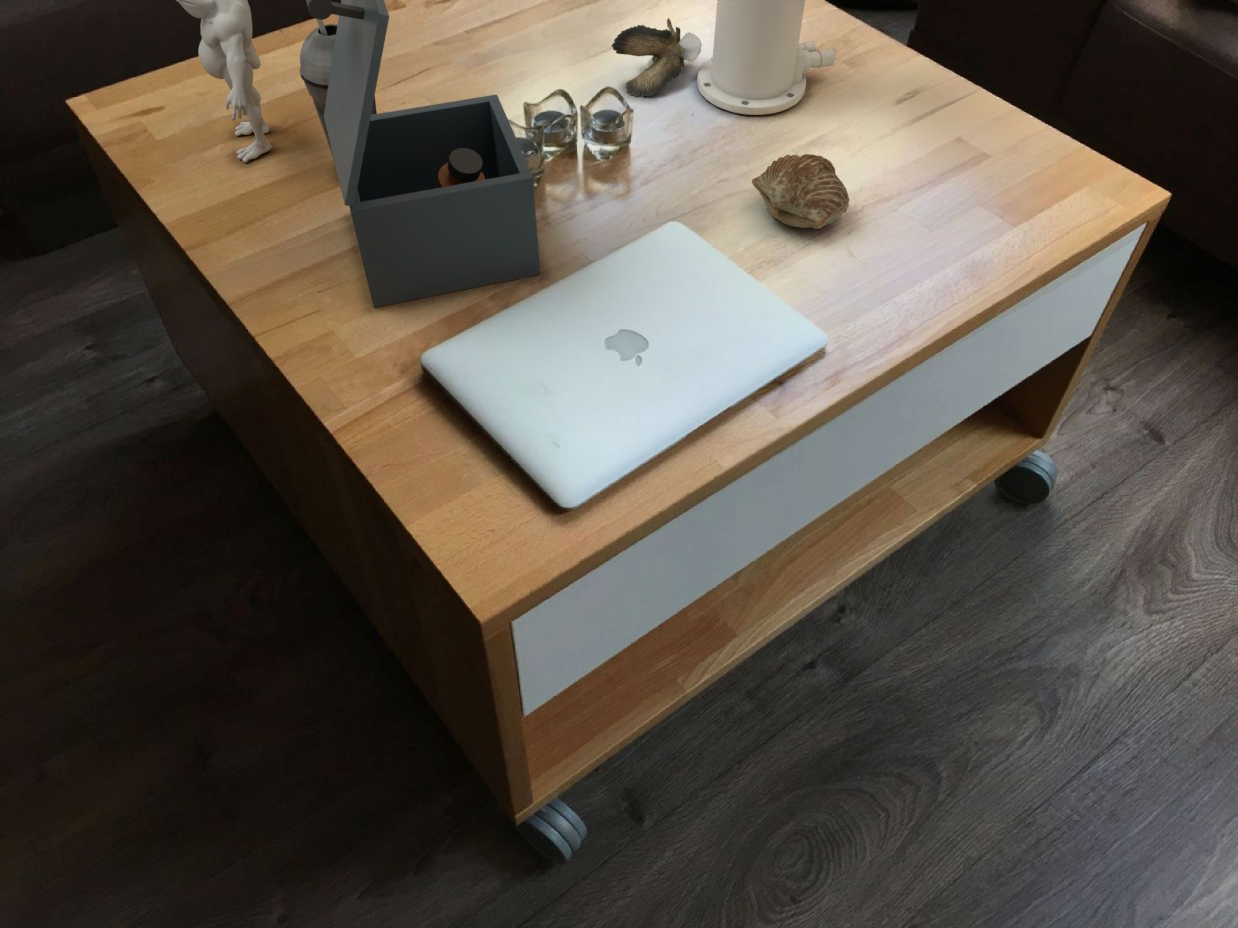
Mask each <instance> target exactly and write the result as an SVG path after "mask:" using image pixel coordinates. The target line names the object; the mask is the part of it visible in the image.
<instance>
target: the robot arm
mask: <svg viewBox="0 0 1238 928" xmlns="http://www.w3.org/2000/svg"><path fill="white" fill-rule="evenodd" d="M805 5H806V0H716V9H715V10H716V11H715V12H716V13H715V21H714V23H715V24H714V33H713V34H714V36H713V46H712V47H713V48H712V57H710V58H708V59H707V60H706V61H704V62H703V63H702V65H701V66H700V68H699V69H698V72H697V78H696V79H697V80H696V84H697V89H698V91H699V93H700V94H701V96H703V98H704V99H705V100H706V101H708V102H709V103H711V104H712V105H713V106H715V107H718V108H720V109H721V110H725V111H728V112H731V113H735V114H740V115H749V116H763V115H771V114H776V113H781V112H783V111H785V110H789V109H790V108H792V107H794V106H795V105H797V104H798V103H799V102H800V101H801V100H802V99H803V97H804V96H805V92H806V87H807V77H806V75H805V74H807V73H809V72H810V71H811V69H816V68H817V69H819V68H825V67H830V66H834V65H835V63H836V51H835V50H834V48H832V47H828V48H822V49H817V46H816V43H815V41H814V40H813V41H807V42H802V43H800V38H801V31H802V24H803V17H804V12H805Z"/></svg>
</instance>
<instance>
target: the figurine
mask: <svg viewBox="0 0 1238 928" xmlns="http://www.w3.org/2000/svg"><path fill="white" fill-rule="evenodd" d="M175 1H176V2H177V3H178V4H180V6H181V7H182V8H183V9H184V10H185V11H186V12H187V13H188V14H189V15H191V16H192V17H194V18H196V19H201V20H200V26H199V27H200V36H201V39H200V41H199V45H198V58H199V62H200V64H201V65H202V68H203V69H204V71H205V72H206V73H207V74H208V75H209V76H211V77H213V78H215V79H218V80H224V82H225V83H226V85H227V86H228V88H229V89H230V92H229V93H228V95H227V96H226V100H225V103H224V106H225V110H226V111H228V110H229V109H230V105H231V109H232V110H231V112H232V117H231V120H232V121H236V120H237V119H239V120H241V119H242V118H243V116H246V118H247V119H248V121H241V122H239V125H237V126H235V131H234V135H235V136H237V137H239V136H241V135H244V136H248V135H249V136H250V135H251V134H252V133H253V134H254V138H255V140H254V141H253V142H251V144H249V145H248V146H245V147H242V148H239V149H238V150H236V151H235V153H236V155H237V159H238V160H242V162H243V163H248V162H249V161H250V160H255V159H257V158H259V157H260V156H261V155H262V154H265V153H267V152H270V150H272V144H271V143H270V142H268V140H267V138H266V136H265V134H267V133H269V132H270V126H269V124H267V123H266V121H265V119H264V117H263V112H262V104H261V102H262V97H261V93H260V92H259V90H257V88H256V87H255V86H254V85H253V84H254V70H258V69H260V68H261V66H262V63H261V59H260V57H259V54H258V52H257V50H256V48H255V46H254V45H255V44H254V42H253V20H252V19H253V18H252V11H251V7H250V4H249V1H248V0H175ZM236 117H237V119H236Z"/></svg>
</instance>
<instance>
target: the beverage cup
mask: <svg viewBox="0 0 1238 928" xmlns="http://www.w3.org/2000/svg"><path fill="white" fill-rule="evenodd" d="M315 19H316V18H315ZM316 22H317V26H318V27H316V28H315V29H313V30H312V31H311V32H310V33H309V34H307V36H306V37H305V38H304V41H303V43H302V45H301V48H300V50H299V51H300V52H299V65H300V67H299V75H300V78H301V80H302V81H303V82H304V86H305V87H306V90H307V92H308V94H309V96H310V97H311V99H312V102H313V104H314V107H315V110H316V113H317V116H318V119H319V121H320V124H321V127H322V130H323V133H324V136H325V139H326V142H327V144H328V148H329V150H330V153H331V156H332V159H333V160H334V157H333V153H332V149H331V145H330V140H329V136H328V132H327V128H326V123H325V119H324V111H325V104H326V98H327V91H328V85H329V78H330V72H331V65H332V59H333V52H334V45H335V39H336V32H337V26H338V23H337V24H336V23H329V24H325V23H324V21H323V20H319V19H316ZM376 103H377V101H376V95H375V96H374V101H373V107H372V112H371V115H373V114H378V112H377V104H376Z"/></svg>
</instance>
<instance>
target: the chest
mask: <svg viewBox="0 0 1238 928" xmlns="http://www.w3.org/2000/svg"><path fill="white" fill-rule="evenodd" d="M510 123H511V122H510V121H509V119H508V117H507V114H506V112H505V110H504V108H503V105H502V103H501V100H500V98H499V96H498V94H489V95H484V96H477V97H472V98H466V99H465V98H464V99H459V100H453V101H448V102H441V103H436V104H435V103H434V104H429V105H423V106H416V107H410V108H405V109H399V110H392V111H387V112H380V113H379V112H378V113H377V114H373V115H371V117H370V123H369V128H368V134H367V139H366V144H365V150H364V155H363V160H362V166H361V171H360V176H359V182H358V187H357V193H356V198H355V203H354V206H348V207H349V211H350V214H351V219H352V224H353V227H354V231H355V235H356V240H357V244H358V248H359V252H360V256H361V261H362V264H363V269H364V273H365V277H366V281H367V286H368V290H369V293H370V298H371V302H372V306H373V307H372V308H378V307H383V306H389V305H394V304H398V303H404V302H408V301H413V300H419V299H424V298H429V297H434V296H438V295H443V294H447V293H453V292H459V291H463V290H469V289H474V288H479V287H484V286H489V285H494V284H499V283H503V282H508V281H514V280H518V279H519V280H520V279H524V278H528V277H533V276H539V275H541V268H540V255H539V253H540V252H539V239H538V226H537V210H536V196H535V183H534V181H535V180H534V176H533V174H532V171H531V170H530V167H529V164H528V162H527V160H526V158H525V155H524V153H523V152H522V148H521V146H520V144H519V142H518V139H517V137H516V135H515V133H514V130H513V128H512V126H511V124H510ZM458 148H468V149H471V150H473V151H475V152H476V153H478V154H479V156H480V157H481V159H482V162H483V165H482V169H481V172H482V173H483V175H484V177H485V179H486V180H480V181H475V182H469V183H464V184H458V185H452V186H447V187H441V188H436V183H437V178H438V173H439V170H440V169H441V167H442V166H443V165H445V164H446V163H448V161H449V156H450V154H451V153H452V151H454V150H455V149H458Z"/></svg>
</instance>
